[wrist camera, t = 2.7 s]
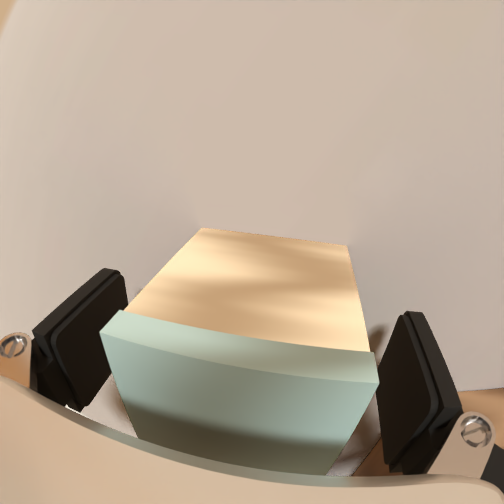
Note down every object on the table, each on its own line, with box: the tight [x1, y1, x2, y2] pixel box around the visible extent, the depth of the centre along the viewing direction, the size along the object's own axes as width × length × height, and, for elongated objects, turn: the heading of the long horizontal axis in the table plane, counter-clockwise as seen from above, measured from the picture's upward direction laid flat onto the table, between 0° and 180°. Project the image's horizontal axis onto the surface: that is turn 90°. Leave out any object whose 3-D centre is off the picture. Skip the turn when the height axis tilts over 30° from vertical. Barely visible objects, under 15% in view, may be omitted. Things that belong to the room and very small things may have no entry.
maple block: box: [100, 228, 379, 476], centre depth 9 cm, size 5×5×6 cm
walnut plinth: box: [352, 388, 504, 477], centre depth 12 cm, size 15×15×4 cm
